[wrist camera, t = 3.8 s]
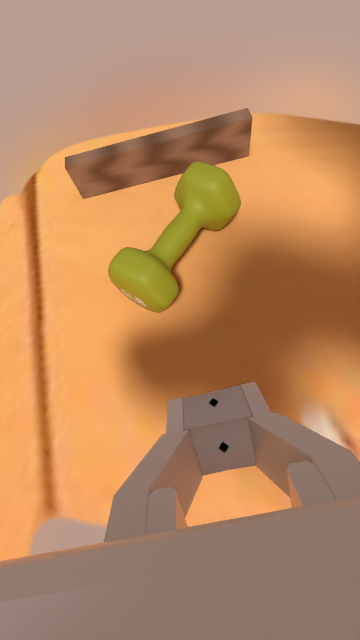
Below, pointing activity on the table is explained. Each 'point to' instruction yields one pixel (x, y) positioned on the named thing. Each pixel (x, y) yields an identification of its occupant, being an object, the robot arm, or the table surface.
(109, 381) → the table surface
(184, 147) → the walnut board
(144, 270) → the dumbbell
